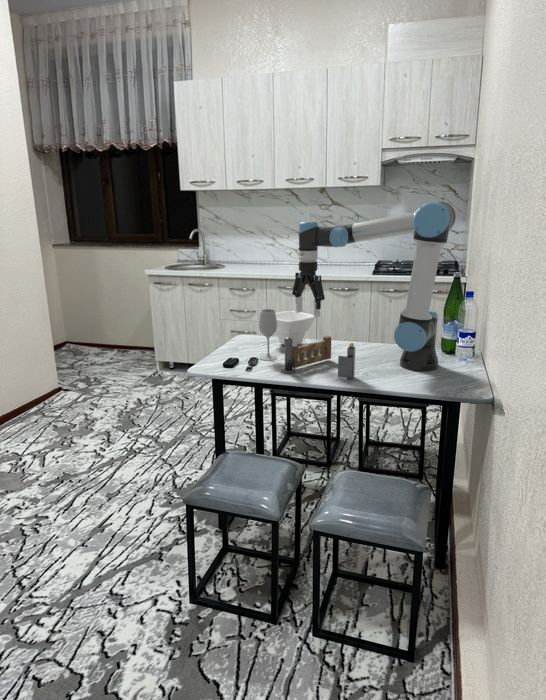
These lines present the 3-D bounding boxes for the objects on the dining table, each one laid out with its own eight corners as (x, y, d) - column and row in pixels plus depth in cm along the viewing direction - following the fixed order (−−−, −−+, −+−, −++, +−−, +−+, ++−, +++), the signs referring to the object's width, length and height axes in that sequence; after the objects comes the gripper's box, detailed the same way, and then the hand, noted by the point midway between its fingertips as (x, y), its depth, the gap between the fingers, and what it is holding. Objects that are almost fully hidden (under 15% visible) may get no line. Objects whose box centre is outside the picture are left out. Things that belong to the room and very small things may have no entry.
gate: (294, 368, 208) (294, 345, 206) (290, 367, 210) (290, 344, 208) (330, 358, 221) (331, 336, 218) (326, 357, 223) (327, 335, 220)
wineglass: (275, 361, 221) (274, 312, 215) (257, 360, 223) (256, 312, 217) (278, 356, 228) (278, 309, 222) (261, 355, 230) (260, 308, 224)
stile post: (354, 376, 201) (355, 342, 197) (351, 380, 196) (352, 345, 193) (340, 375, 202) (341, 341, 199) (337, 379, 198) (338, 344, 195)
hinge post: (298, 369, 210) (298, 336, 206) (293, 374, 204) (293, 339, 201) (284, 368, 212) (283, 334, 208) (279, 372, 206) (278, 338, 203)
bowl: (291, 337, 259) (291, 309, 255) (319, 345, 245) (319, 316, 241) (262, 344, 248) (261, 315, 244) (289, 352, 234) (289, 322, 230)
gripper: (283, 259, 218) (283, 311, 224) (319, 264, 199) (319, 320, 206) (297, 258, 222) (297, 308, 228) (334, 262, 204) (333, 317, 210)
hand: (307, 314), depth 217 cm, fingers open, 11 cm apart
